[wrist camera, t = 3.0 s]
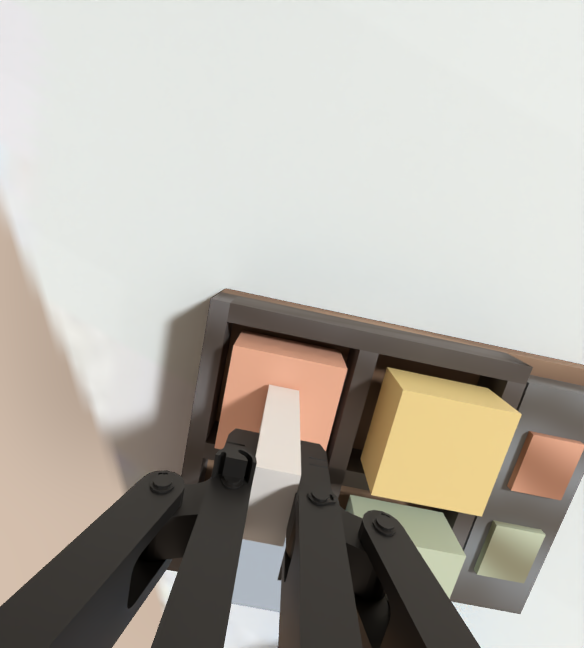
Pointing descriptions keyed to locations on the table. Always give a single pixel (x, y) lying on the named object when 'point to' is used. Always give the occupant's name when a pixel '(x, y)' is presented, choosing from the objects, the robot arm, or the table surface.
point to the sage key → (422, 536)
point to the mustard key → (437, 442)
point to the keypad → (357, 411)
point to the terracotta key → (281, 384)
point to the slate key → (258, 576)
